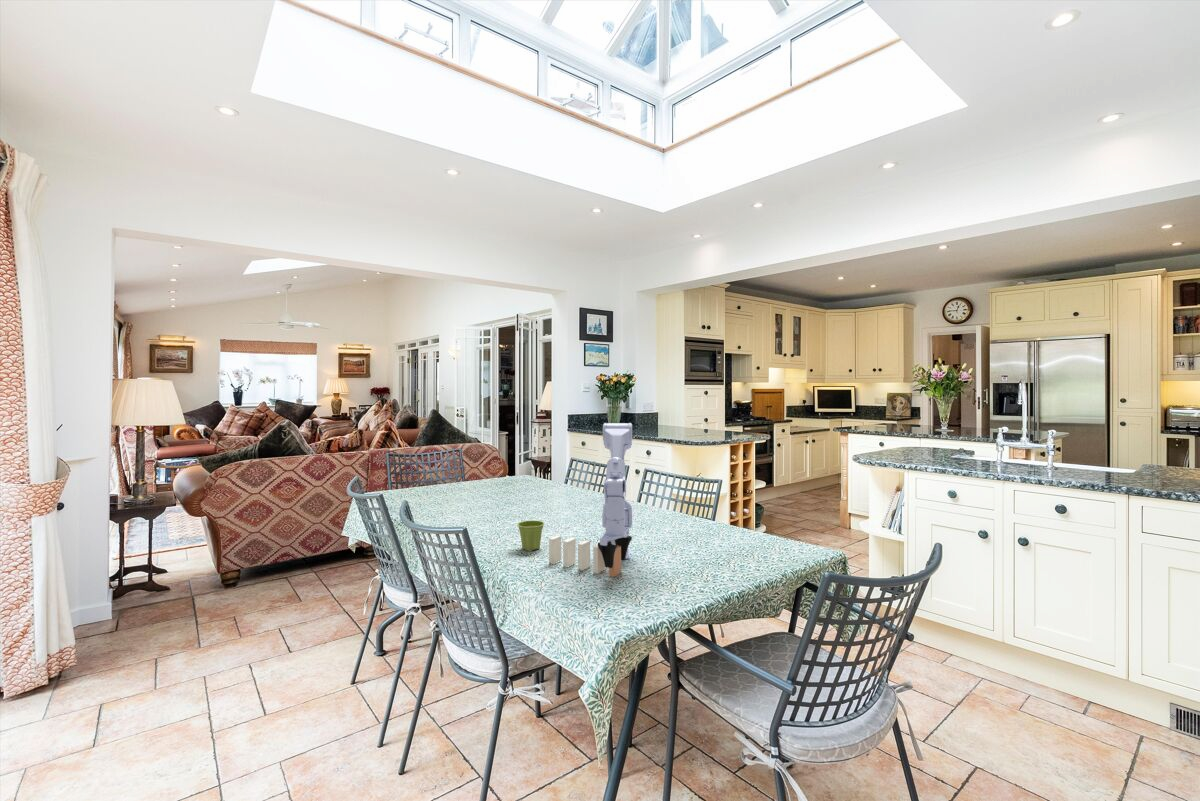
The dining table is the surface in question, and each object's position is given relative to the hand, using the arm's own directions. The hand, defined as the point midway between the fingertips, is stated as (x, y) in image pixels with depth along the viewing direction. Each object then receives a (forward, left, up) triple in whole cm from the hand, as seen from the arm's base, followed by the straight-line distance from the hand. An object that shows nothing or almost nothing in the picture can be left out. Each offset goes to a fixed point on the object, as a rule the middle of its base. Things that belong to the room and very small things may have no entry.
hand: (615, 563), depth 161 cm
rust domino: (0, 0, -3) cm, 3 cm away
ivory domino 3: (-6, -10, -3) cm, 11 cm away
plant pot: (-26, -29, -3) cm, 39 cm away
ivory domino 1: (-11, -19, -3) cm, 22 cm away
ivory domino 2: (-8, -14, -3) cm, 17 cm away
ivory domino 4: (-3, -5, -3) cm, 6 cm away
